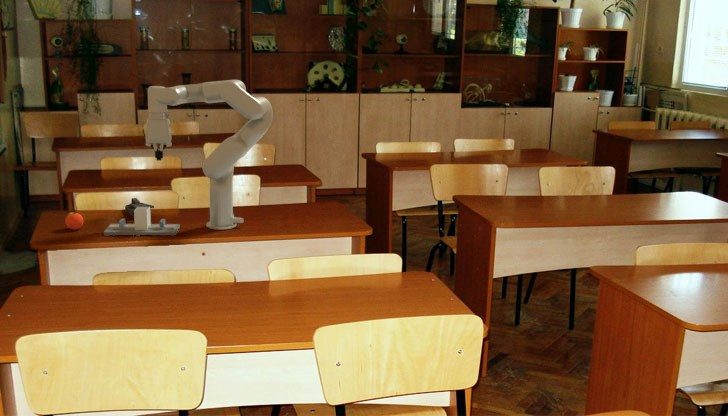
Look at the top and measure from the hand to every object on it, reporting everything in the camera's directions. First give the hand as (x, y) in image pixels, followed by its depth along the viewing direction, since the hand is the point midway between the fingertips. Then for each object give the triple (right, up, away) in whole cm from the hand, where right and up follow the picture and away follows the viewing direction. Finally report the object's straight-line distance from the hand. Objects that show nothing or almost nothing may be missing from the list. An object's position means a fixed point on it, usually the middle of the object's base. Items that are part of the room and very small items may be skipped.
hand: (159, 159), depth 315 cm
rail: (-4, -28, -9) cm, 30 cm away
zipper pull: (-14, -23, +18) cm, 32 cm away
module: (-4, -28, -9) cm, 30 cm away
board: (-4, -30, -9) cm, 31 cm away
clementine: (-33, -29, -9) cm, 44 cm away
